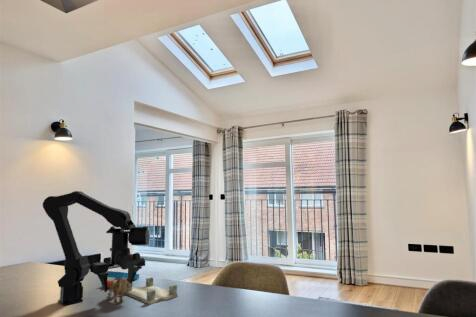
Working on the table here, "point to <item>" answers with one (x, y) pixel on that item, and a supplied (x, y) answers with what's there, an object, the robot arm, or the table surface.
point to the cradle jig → (152, 292)
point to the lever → (118, 276)
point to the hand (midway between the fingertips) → (118, 289)
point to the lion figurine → (118, 288)
